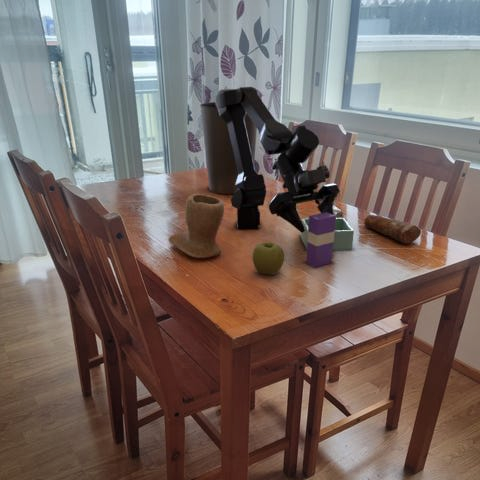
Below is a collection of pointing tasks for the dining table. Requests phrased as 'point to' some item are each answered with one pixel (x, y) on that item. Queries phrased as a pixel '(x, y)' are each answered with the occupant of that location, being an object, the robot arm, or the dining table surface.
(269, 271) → the apple
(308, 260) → the purple tall block
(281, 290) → the dining table surface
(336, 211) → the cuneiform tablet
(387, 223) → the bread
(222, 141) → the waste basket
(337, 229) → the bin
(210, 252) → the stone cup
